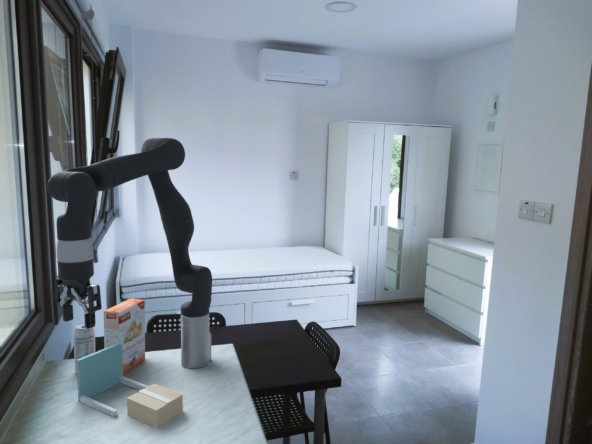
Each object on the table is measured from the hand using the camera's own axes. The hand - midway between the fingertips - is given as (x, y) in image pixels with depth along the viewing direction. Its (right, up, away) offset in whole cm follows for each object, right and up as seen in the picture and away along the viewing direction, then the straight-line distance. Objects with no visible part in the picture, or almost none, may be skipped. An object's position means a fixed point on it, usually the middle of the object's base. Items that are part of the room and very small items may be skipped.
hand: (79, 323), depth 103 cm
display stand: (+2, -25, +19) cm, 32 cm away
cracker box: (-4, -23, +38) cm, 45 cm away
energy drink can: (-15, -23, +34) cm, 44 cm away
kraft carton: (+14, -27, +12) cm, 33 cm away
